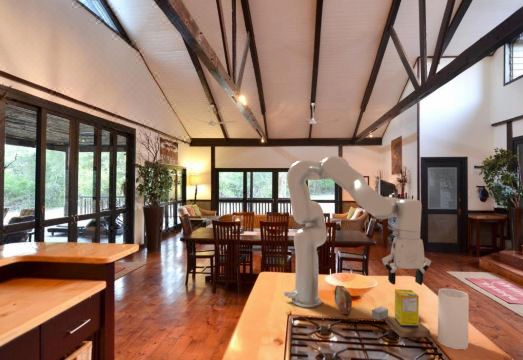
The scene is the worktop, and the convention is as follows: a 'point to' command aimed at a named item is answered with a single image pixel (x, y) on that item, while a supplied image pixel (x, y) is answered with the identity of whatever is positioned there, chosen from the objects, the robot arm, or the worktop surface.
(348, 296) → the tin
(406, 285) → the worktop surface
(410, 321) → the supplement box
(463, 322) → the cup
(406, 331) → the walnut slab
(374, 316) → the slate brick
